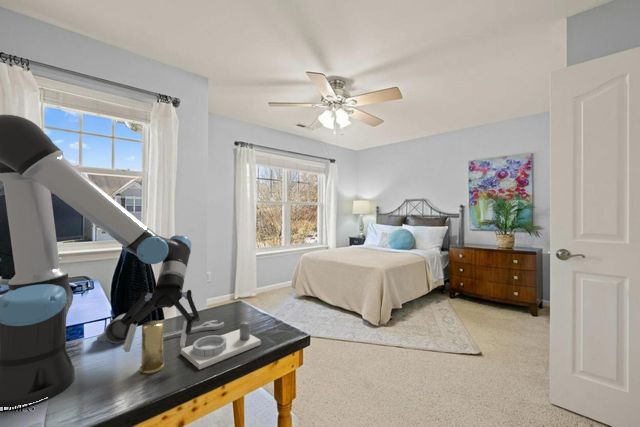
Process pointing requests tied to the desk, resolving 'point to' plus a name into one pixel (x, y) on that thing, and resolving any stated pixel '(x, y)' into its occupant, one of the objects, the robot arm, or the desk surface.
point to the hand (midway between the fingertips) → (154, 348)
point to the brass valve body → (152, 347)
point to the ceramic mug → (114, 331)
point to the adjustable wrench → (196, 329)
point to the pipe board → (220, 346)
